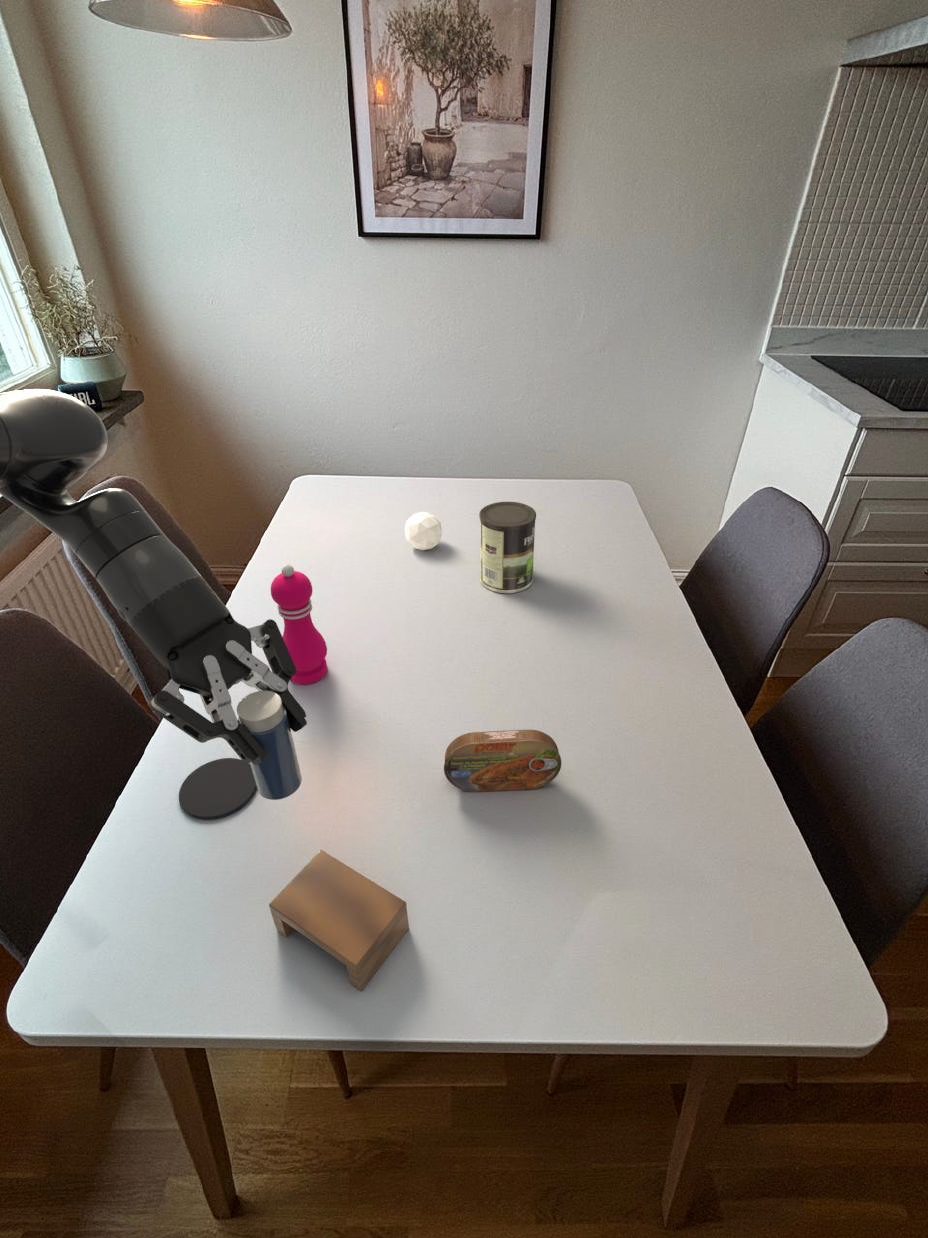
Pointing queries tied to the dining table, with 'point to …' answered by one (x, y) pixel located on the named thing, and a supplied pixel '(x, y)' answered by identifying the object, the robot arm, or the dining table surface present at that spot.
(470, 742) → the tin
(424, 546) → the geometric ball
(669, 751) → the dining table surface
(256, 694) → the cylinder
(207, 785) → the mat
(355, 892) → the shelf
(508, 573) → the coffee can
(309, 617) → the pepper mill
